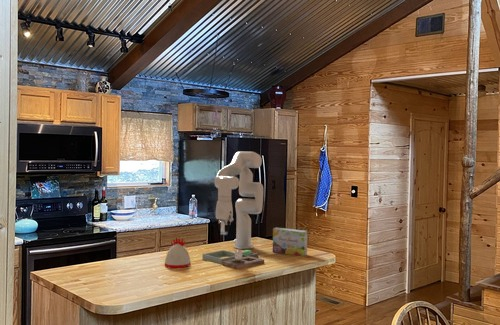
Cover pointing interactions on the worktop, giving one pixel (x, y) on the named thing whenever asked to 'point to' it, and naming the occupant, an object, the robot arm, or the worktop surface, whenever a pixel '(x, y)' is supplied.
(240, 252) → the cylinder
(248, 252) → the button
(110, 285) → the worktop surface
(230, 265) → the board
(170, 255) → the kitchen timer
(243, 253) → the button console
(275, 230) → the snack box
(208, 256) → the tote
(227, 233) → the billet
